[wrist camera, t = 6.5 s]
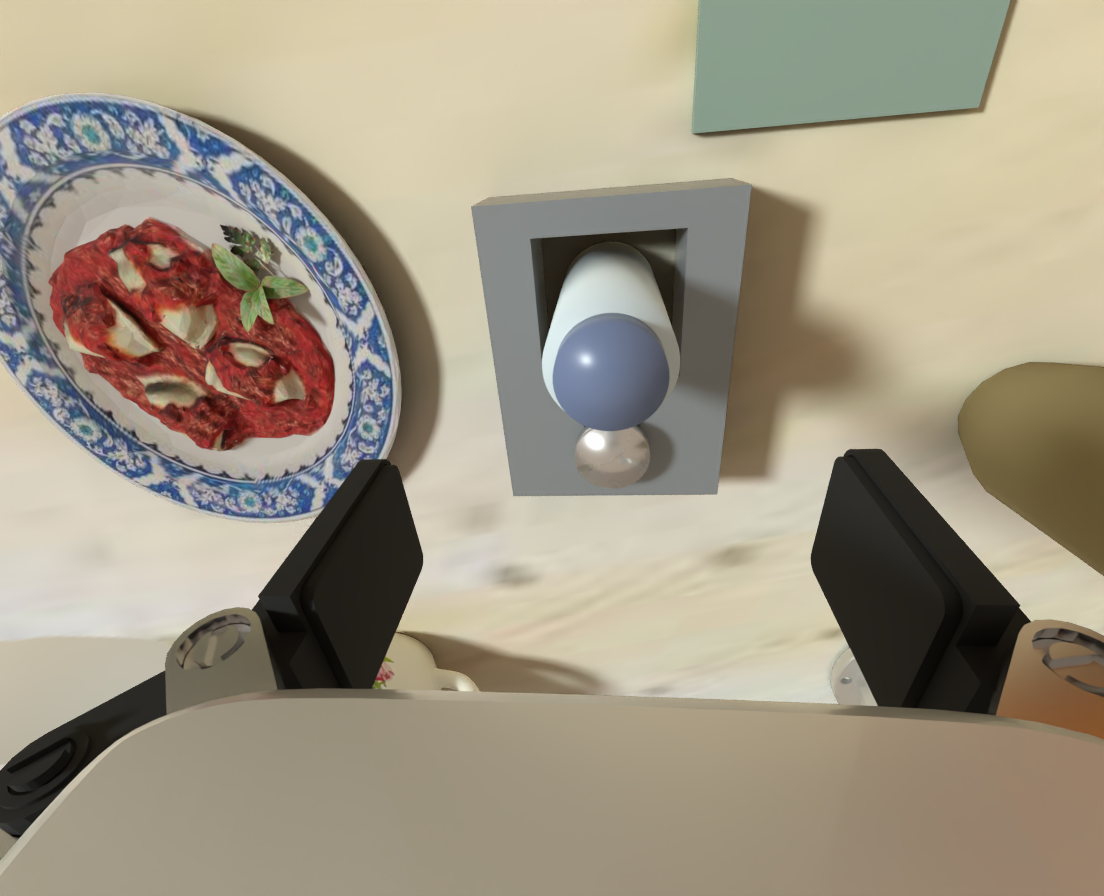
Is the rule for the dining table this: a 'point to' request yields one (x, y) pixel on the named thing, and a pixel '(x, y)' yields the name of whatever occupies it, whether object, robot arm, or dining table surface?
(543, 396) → the housing
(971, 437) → the squeeze bottle
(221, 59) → the dining table surface
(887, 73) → the mat
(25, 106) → the ceramic plate
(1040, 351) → the dining table surface
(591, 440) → the plunger
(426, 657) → the pitcher
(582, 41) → the dining table surface
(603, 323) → the cylinder
